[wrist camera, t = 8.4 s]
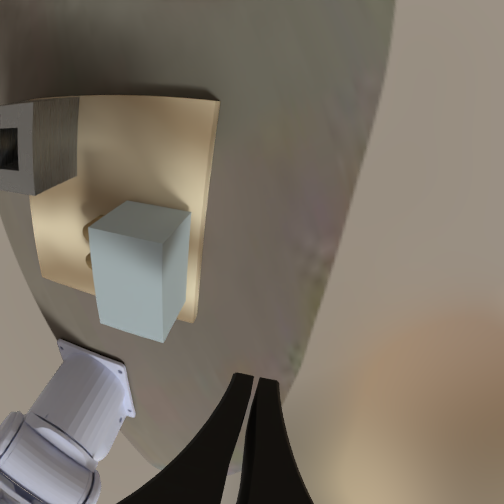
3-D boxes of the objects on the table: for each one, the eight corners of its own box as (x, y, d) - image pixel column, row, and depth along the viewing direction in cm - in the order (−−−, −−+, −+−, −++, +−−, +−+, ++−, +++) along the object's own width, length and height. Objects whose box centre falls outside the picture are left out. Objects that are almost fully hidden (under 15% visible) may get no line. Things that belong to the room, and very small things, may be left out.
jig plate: (197, 314, 22) (181, 349, 18) (49, 270, 22) (23, 293, 19) (220, 101, 15) (199, 101, 12) (37, 98, 16) (0, 104, 13)
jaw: (77, 175, 17) (35, 196, 13) (27, 169, 17) (-13, 187, 14) (79, 96, 15) (33, 102, 11) (27, 100, 15) (-16, 108, 11)
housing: (185, 301, 19) (163, 343, 16) (129, 286, 20) (100, 322, 16) (191, 212, 17) (162, 243, 13) (127, 200, 17) (87, 227, 13)
